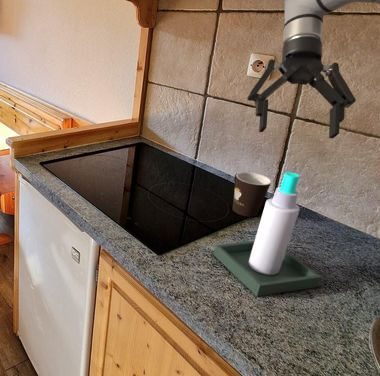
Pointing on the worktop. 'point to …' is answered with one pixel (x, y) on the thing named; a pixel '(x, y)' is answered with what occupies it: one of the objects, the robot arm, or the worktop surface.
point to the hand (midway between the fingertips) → (297, 132)
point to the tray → (260, 283)
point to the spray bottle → (276, 227)
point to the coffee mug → (249, 193)
